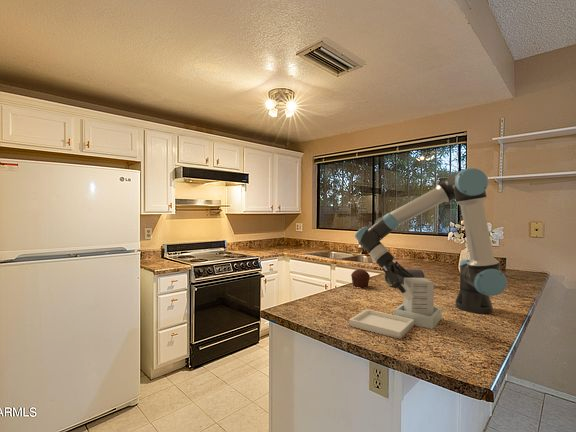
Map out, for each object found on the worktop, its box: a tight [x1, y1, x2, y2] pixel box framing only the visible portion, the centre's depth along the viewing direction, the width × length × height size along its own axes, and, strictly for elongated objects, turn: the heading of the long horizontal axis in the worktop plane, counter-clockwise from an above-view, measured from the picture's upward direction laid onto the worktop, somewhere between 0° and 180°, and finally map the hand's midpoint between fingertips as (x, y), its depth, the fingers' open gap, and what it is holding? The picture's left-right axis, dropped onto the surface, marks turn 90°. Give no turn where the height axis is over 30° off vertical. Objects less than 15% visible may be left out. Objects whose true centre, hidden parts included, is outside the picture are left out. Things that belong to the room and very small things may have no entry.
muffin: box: [350, 268, 371, 289], centre depth 186 cm, size 12×11×10 cm
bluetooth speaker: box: [384, 268, 426, 286], centre depth 189 cm, size 23×9×10 cm, turn 105°
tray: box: [348, 308, 415, 340], centre depth 121 cm, size 20×17×2 cm
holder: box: [393, 302, 443, 330], centre depth 129 cm, size 15×15×4 cm
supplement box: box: [403, 277, 435, 316], centre depth 129 cm, size 10×9×17 cm
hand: (416, 295), depth 129 cm, fingers open, 13 cm apart
